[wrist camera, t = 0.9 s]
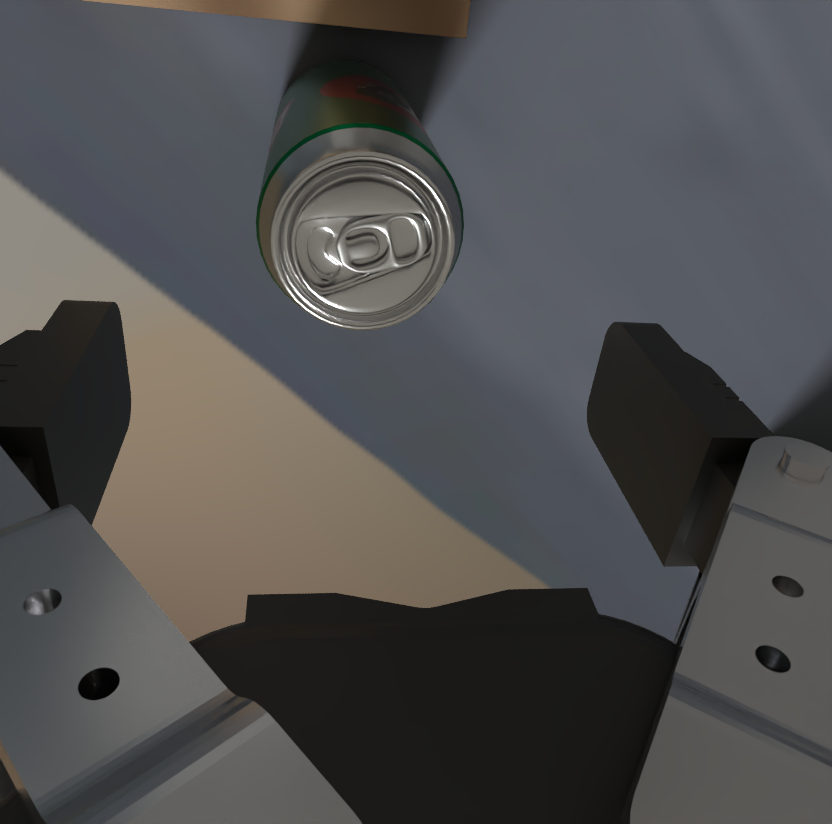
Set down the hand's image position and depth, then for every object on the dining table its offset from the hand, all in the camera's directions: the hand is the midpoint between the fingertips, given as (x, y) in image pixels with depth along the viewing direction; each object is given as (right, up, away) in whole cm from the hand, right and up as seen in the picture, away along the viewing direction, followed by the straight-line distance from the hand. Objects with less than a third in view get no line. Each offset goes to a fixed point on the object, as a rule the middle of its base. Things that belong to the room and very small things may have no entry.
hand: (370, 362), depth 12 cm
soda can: (-2, +9, +15) cm, 18 cm away
